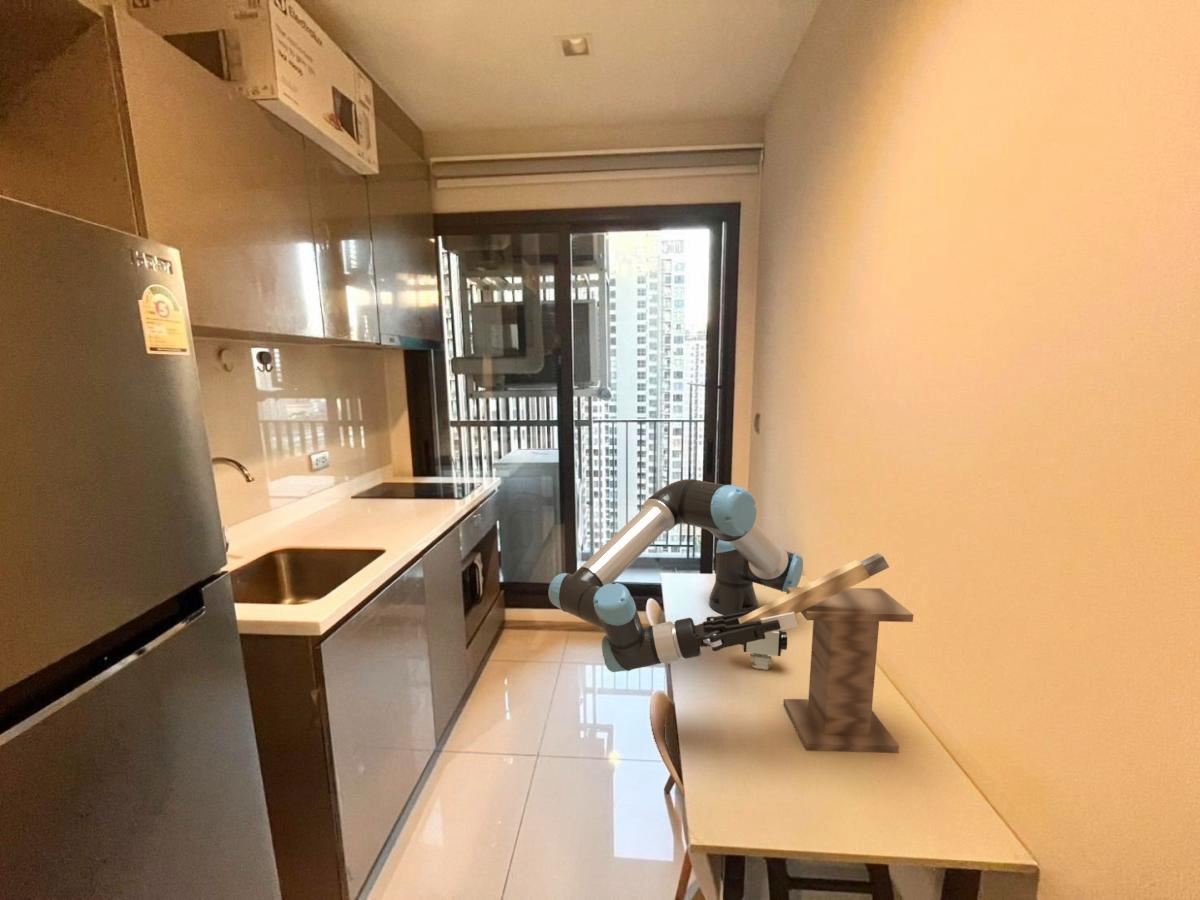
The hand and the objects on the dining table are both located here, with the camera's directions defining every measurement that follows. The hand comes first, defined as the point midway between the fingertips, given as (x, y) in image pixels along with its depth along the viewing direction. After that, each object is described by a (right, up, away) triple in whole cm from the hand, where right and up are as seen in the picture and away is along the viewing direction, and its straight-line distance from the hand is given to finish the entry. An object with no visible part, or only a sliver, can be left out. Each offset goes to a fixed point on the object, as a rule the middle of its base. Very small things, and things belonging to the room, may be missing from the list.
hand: (793, 616), depth 99 cm
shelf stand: (+12, -26, +7) cm, 29 cm away
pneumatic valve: (+3, -23, +30) cm, 38 cm away
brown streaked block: (+4, +3, -1) cm, 5 cm away
